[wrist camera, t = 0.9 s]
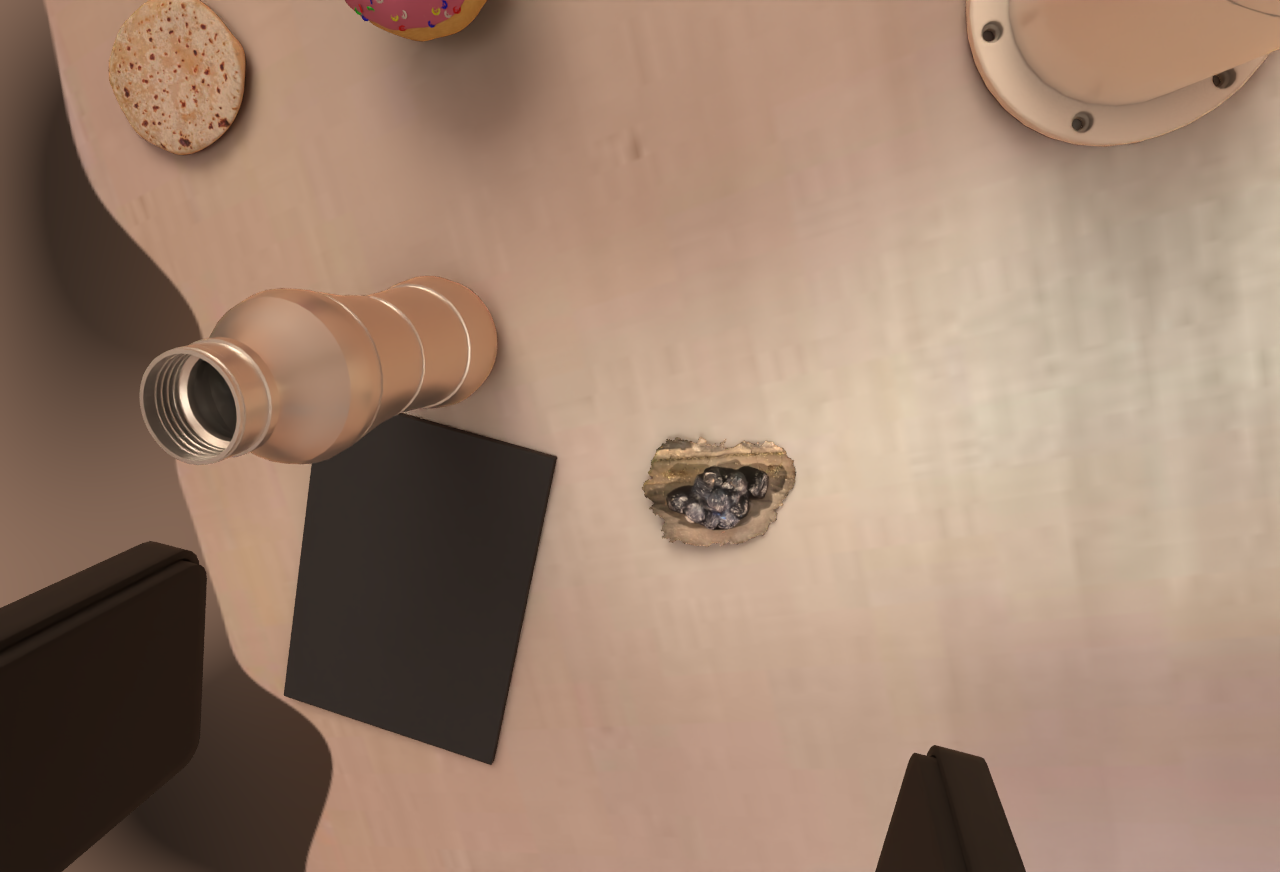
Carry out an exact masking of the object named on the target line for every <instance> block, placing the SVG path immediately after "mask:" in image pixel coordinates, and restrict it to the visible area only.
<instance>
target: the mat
mask: <svg viewBox="0 0 1280 872" xmlns="http://www.w3.org/2000/svg"><path fill="white" fill-rule="evenodd" d="M556 459H557V457H556V456H552V455H549V454H545V453H542V452H538V451H535V450H531V449H527V448H524V447H520V446H517V445H513V444H510V443H506V442H502V441H499V440H495V439H492V438H488V437H485V436H481V435H477V434H474V433H470V432H467V431H463V430H459V429H456V428H452V427H449V426H445V425H442V424H438V423H434V422H431V421H427V420H424V419H420V418H417V417H413V416H409V415H406V414H402V413H399V414H397V415H395V416H393V417H391V418H390V419H388V420H386V421H384V422H382V423H380V424H379V425H378V426H376V427H375V428H374V429H373V430H371V431H370V432H369V433H367V434H366V435H365V436H364V437H362V438H361V439H360V440H358V441H357V442H356V443H354V444H353V445H352V446H350V447H349V448H347V449H345V450H344V451H342V452H340V453H338V454H337V455H335V456H333V457H332V458H330V459H327V460H324V461H321V462H317V463H312V467H311V475H310V483H309V492H308V500H307V508H306V516H305V525H304V533H303V541H302V549H301V558H300V566H299V574H298V583H297V591H296V599H295V607H294V616H293V624H292V632H291V640H290V649H289V657H288V665H287V673H286V682H285V690H284V696H286V697H289V698H292V699H295V700H298V701H301V702H304V703H307V704H310V705H313V706H316V707H319V708H322V709H325V710H328V711H331V712H334V713H337V714H340V715H343V716H346V717H349V718H352V719H355V720H358V721H361V722H364V723H367V724H370V725H373V726H376V727H379V728H382V729H385V730H388V731H391V732H394V733H397V734H400V735H403V736H406V737H409V738H412V739H415V740H418V741H421V742H424V743H427V744H430V745H433V746H436V747H439V748H442V749H445V750H448V751H451V752H454V753H457V754H460V755H463V756H466V757H469V758H472V759H475V760H478V761H481V762H484V763H487V764H490V765H492V763H493V761H494V758H495V754H496V749H497V744H498V739H499V734H500V729H501V725H502V720H503V715H504V710H505V705H506V700H507V696H508V691H509V686H510V681H511V676H512V671H513V667H514V662H515V657H516V652H517V647H518V642H519V638H520V633H521V628H522V623H523V618H524V613H525V609H526V604H527V599H528V594H529V589H530V584H531V580H532V575H533V570H534V565H535V560H536V555H537V551H538V546H539V541H540V536H541V531H542V526H543V522H544V517H545V512H546V507H547V502H548V497H549V492H550V488H551V483H552V478H553V473H554V468H555V463H556Z"/></svg>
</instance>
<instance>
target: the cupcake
mask: <svg viewBox="0 0 1280 872" xmlns="http://www.w3.org/2000/svg"><path fill="white" fill-rule="evenodd" d="M345 1H346V3H347V4H348V5H349V6H350V7H351V8H352V9H353V10H354V11H355V12H356V13H357V14H359V15H361V16H362V19H363V20H364V21H368V20H369V21H370V22H371V23H372V24H373V25H375V26H377V27H379V28H381V29H383V30H385V31H388V32H390V33H393V34H395V35H398V36H401V37H404V38H407V39H411V40H415V41H429V40H432V39H435V38H439V37H444V36H448V35H452V34H455V33H457V32H459V31H461V30H463V29H464V28H465V27H466V26H467V25H469V24H470V23H471V22H472V21H473V20H474V19H475V17H476V16H477V15H478V13H479V12H480V10H481V8H482V7H483V6H484V4H485V3H486V1H487V0H345Z"/></svg>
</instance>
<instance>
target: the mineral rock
mask: <svg viewBox="0 0 1280 872" xmlns="http://www.w3.org/2000/svg"><path fill="white" fill-rule="evenodd" d="M666 440H667V441H666V442H667V443H666V444H662V446H661V447H659V448H658V449H657V451H656V453H657V454H655V457H654V458H653V461H652V460H651V461H652V462H651V465H652V466H651V467H652V468H650V469H651V470H650V471H649V472H648V474H649V475H650V476H652V479H651V480H649V479H648V480H647V481H645V482H646V483H644V487H642V489H643V490H644V492H645V494H644V495H645V497H646V498H647V497H648V498H649V499H650V500H652V501H653V502H654V504H653V505H652V507H650V508H649V509H653V513H654V514H655V515H656V514H658V515H659V516H660V517H663V518H664V520H665V522H664V525H663V527H662V530H661V531H664V536H662V539H663V538H666V539H668V538H670V541H669V542H672V543H673V542H674V541H676V540H681V541H682V542H683V543H684V544H685V543H687V544H688V543H689V545H690V544H691V545H696V546H700V545H701V546H703V545H704V546H705V547H709V546H710V545H711V544H712V543H713V542H714V544H715V543H716V544H717V543H719V542H720V546H722V545H724V544H726V543H727V542H728V541H729V542H730V544H731V545H732V544H733V543H734V544H739V543H743V542H745V541H747V540H749V539H750V538H754V537H756V536H757V535H758V534H759V535H764V534H765V532H766V531H767V529H768V525H769V524H770V521H771V522H774V521H775V520H777V519H776V518H775V517H776V514H778V513H776V512H775V511H774V509H777V508H778V506H782V505H783V504H782V500H783V499H785V498H786V497H785V496H787V495H788V494H787V493H788V492H789V490H791V489H792V488H793V486H794V483H795V479H794V478H795V477H794V476H795V473H796V472H795V467H794V466H793V465H792V464H793V462H794V460H791V459H790V458H789V459H788V457H787V456H786V451H785V450H784V449H783V448H781V447H780V448H779V447H778V446H775V444H774V443H773V442H767V441H765V443H764V444H762V445H761V446H759V443H758V442H757V444H756V445H755V444H752V443H749V442H748V443H745V440H744V441H743V442H742V443H740V444H738V445H737V446H735V447H734V448H732V447H731V449H728V448H727V449H724V448H723V447H722V446H723V445H724V443H725V441H726V440H727V439H725V440H724V442H722V443H720V446H716V443H715V444H714V446H712V445H710V444H708V445H705V442H707V441H706V440H705V439H704V438H701V437H700V439H698V440H699V443H698V444H697V443H694V442H693V443H692V441H690V442H688V441H687V440H685V441H684V440H681V439H680V438H676V439H675V440H673V441H672V440H670V439H669V440H668V439H666ZM667 450H668V451H667ZM724 531H725V532H724ZM722 532H724V533H722Z"/></svg>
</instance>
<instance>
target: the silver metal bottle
mask: <svg viewBox="0 0 1280 872" xmlns="http://www.w3.org/2000/svg"><path fill="white" fill-rule="evenodd" d="M496 354H497V334H496V328H495V325H494V322H493V319H492V316H491V314H490V312H489V311H488V309H487V307H486V305H485V304H484V303H483V302H482V300H481V299H480V298H479V297H478V296H477V295H476V294H475V293H474V292H472V291H471V290H470V289H468V288H467V287H465V286H463V285H461V284H459V283H456V282H453V281H450V280H447V279H444V278H441V277H436V276H420V277H415V278H412V279H409V280H406V281H404V282H401V283H398V284H396V285H393V286H392V287H390V288H389V289H387V290H385V291H381V292H378V293H374V294H371V295H361V296H358V295H344V296H341V295H335V294H329V293H323V292H316V291H311V290H303V289H287V288H279V289H270V290H265V291H262V292H259V293H257V294H254V295H252V296H250V297H248V298H247V299H245V300H244V301H242V302H241V303H239V304H237V305H236V306H235V307H233V308H232V309H230V310H229V311H227V312H226V314H225V315H224V316H223V317H222V318H221V319H220V320H219V321H218V323H217V325H216V326H215V328H214V330H213V332H212V333H211V335H210V337H209V338H208V339H203V340H199V341H197V342H194V343H192V344H190V345H189V346H184V347H179V348H175V349H172V350H169V351H167V352H165V353H163V354H161V355H160V356H158V357H157V358H155V359H154V360H153V361H152V362H151V364H150V365H149V366H148V368H147V369H146V371H145V373H144V375H143V378H142V382H141V387H140V407H141V411H142V415H143V419H144V421H145V424H146V426H147V428H148V430H149V432H150V434H151V435H152V437H153V439H154V440H155V441H156V442H157V443H158V445H159V446H160V447H161V448H162V449H163V450H165V451H166V452H167V453H168V454H169V455H171V456H172V457H174V458H176V459H177V460H180V461H182V462H185V463H188V464H194V465H206V464H213V463H216V462H219V461H222V460H224V459H227V458H230V457H238V456H241V455H245V454H247V453H250V452H251V453H253V454H254V455H256V456H258V457H261V458H264V459H267V460H269V461H272V462H279V463H286V464H311V463H317V462H321V461H324V460H327V459H330V458H332V457H333V456H335V455H337V454H338V453H340V452H342V451H344V450H345V449H347V448H349V447H350V446H352V445H353V444H354V443H356V442H357V441H358V440H360V439H361V438H362V437H364V436H365V435H366V434H367V433H369V432H370V431H371V430H373V429H374V428H375V427H376V426H378V425H379V424H380V423H382V422H384V421H386V420H388V419H390V418H391V417H393V416H395V415H397V414H399V413H401V412H405V411H409V410H414V409H418V408H423V409H427V408H438V407H446V406H450V405H453V404H457V403H459V402H461V401H463V400H465V399H466V398H468V397H469V396H470V395H471V394H473V393H474V392H475V391H476V390H477V389H478V388H479V387H480V386H481V385H482V384H483V383H484V381H485V380H486V378H487V377H488V376H489V374H490V372H491V370H492V368H493V365H494V363H495V359H496Z"/></svg>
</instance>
